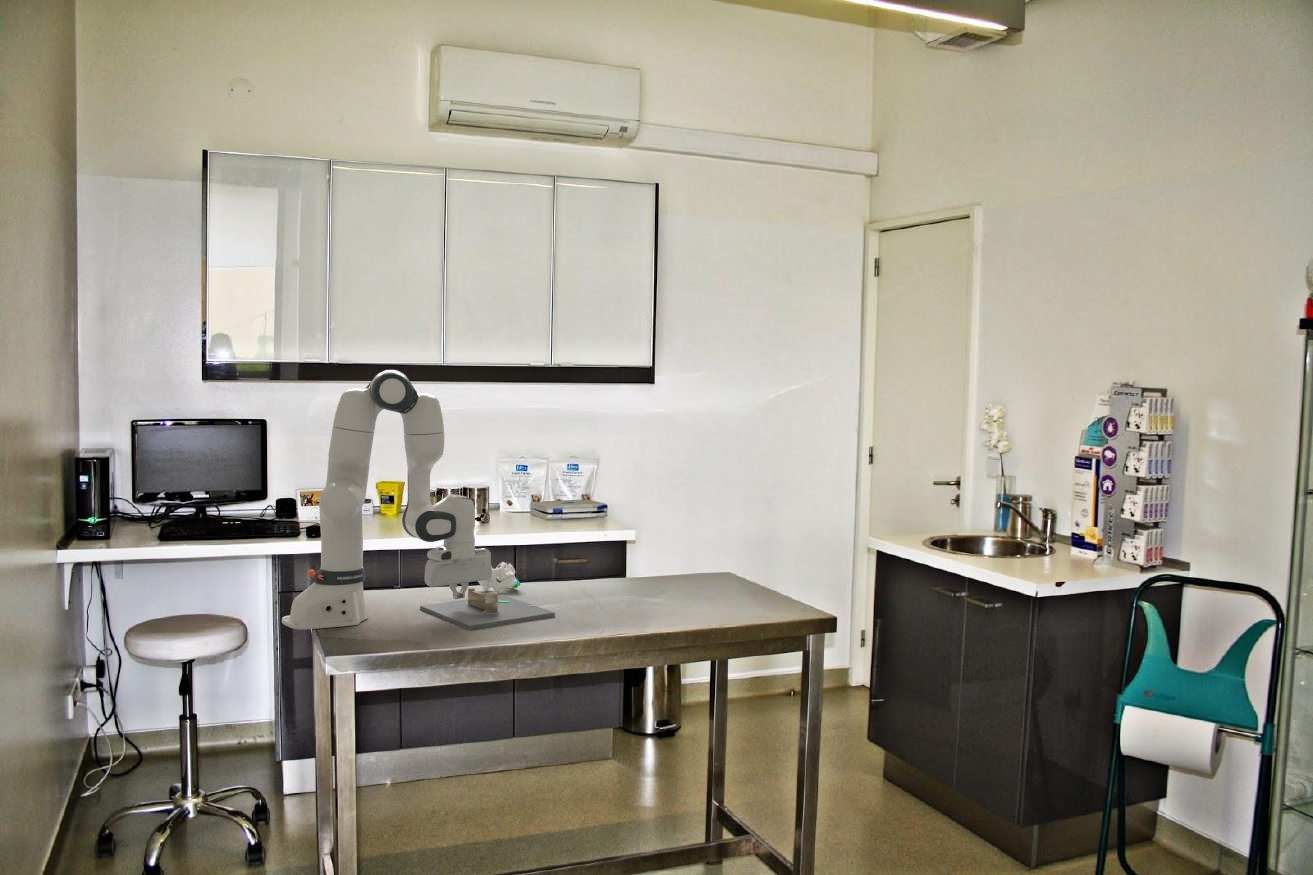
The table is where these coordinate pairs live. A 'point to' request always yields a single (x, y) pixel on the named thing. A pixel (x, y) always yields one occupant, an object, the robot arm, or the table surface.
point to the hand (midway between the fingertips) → (458, 598)
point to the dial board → (486, 613)
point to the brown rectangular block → (483, 600)
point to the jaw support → (501, 578)
